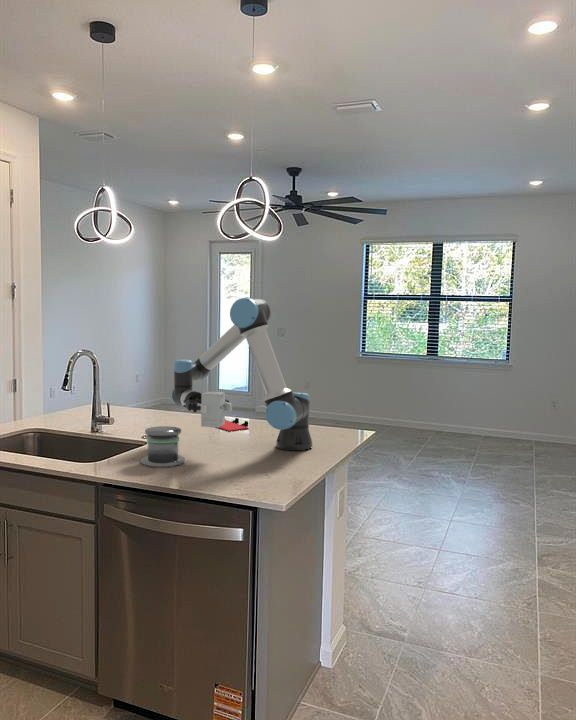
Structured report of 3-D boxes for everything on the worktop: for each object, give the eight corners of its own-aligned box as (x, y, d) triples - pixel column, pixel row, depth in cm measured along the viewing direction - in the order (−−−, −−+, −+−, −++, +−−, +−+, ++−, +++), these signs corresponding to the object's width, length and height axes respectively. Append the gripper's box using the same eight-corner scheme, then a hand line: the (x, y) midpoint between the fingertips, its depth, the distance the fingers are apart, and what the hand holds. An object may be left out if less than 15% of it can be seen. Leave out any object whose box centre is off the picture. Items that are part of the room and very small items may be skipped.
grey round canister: (193, 460, 219) (194, 429, 218) (164, 470, 205) (164, 436, 204) (161, 454, 227) (162, 423, 226) (131, 463, 214) (131, 430, 213)
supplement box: (219, 427, 219) (219, 394, 218) (200, 426, 221) (200, 393, 220) (225, 424, 226) (225, 391, 225) (207, 423, 228) (207, 391, 227)
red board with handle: (222, 418, 304) (196, 422, 295) (222, 413, 304) (196, 416, 295) (255, 429, 281) (228, 433, 272) (255, 423, 280) (228, 427, 271)
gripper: (218, 407, 244) (244, 415, 226) (166, 411, 232) (190, 421, 213) (218, 389, 244) (244, 396, 225) (166, 393, 231) (190, 400, 213)
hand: (218, 408), depth 219 cm, fingers closed on supplement box, 10 cm apart
